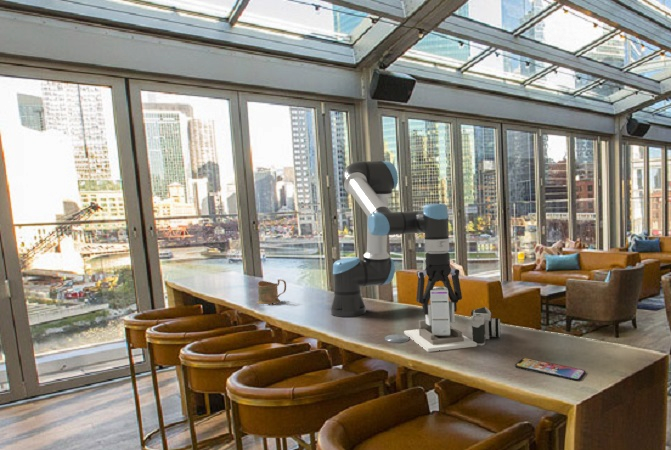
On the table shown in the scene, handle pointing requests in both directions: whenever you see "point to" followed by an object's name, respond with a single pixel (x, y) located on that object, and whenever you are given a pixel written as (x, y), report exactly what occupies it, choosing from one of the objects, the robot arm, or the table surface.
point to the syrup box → (440, 311)
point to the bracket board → (438, 338)
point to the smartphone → (550, 369)
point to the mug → (269, 292)
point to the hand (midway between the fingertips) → (440, 323)
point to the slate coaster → (396, 338)
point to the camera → (484, 325)
